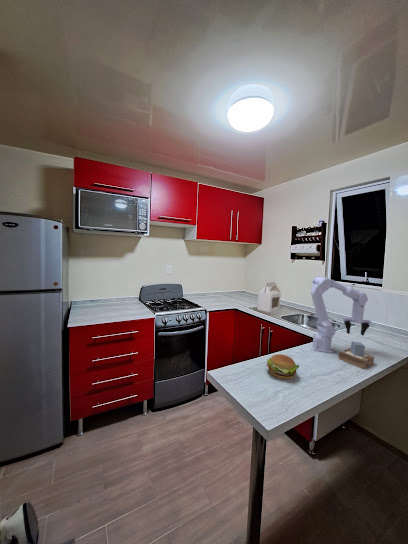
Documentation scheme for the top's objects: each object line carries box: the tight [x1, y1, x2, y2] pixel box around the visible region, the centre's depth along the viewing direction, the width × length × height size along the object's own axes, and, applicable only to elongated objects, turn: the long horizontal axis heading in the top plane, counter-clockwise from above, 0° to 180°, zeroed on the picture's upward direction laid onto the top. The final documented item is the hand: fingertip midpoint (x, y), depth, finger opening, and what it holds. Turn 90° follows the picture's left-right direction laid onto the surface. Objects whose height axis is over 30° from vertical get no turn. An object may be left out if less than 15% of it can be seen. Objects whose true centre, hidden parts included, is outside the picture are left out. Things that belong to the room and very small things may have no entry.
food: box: [266, 353, 300, 380], centre depth 105 cm, size 14×14×8 cm
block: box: [350, 341, 366, 357], centre depth 122 cm, size 4×4×6 cm
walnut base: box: [338, 347, 375, 370], centre depth 123 cm, size 12×12×4 cm
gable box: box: [257, 281, 282, 313], centre depth 231 cm, size 22×13×28 cm, turn 136°
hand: (355, 334), depth 137 cm, fingers open, 7 cm apart
